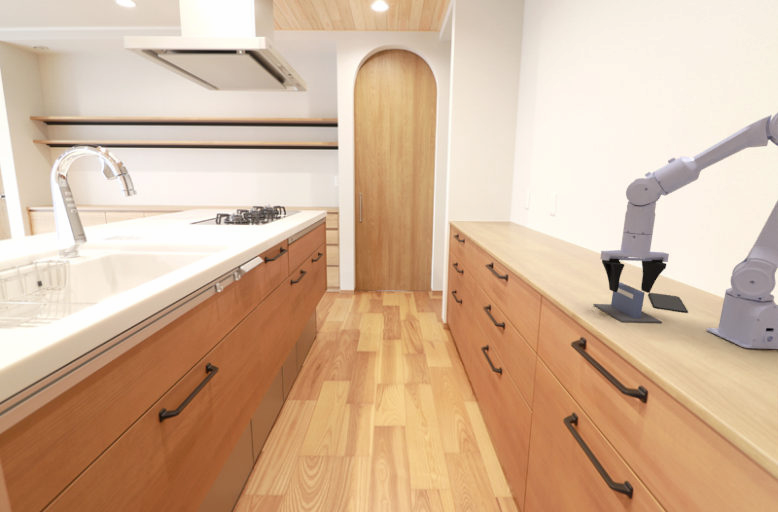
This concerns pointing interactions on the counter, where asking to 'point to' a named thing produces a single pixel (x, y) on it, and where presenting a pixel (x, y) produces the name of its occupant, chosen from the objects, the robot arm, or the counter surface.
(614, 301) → the block
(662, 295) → the smartphone
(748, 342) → the robot arm
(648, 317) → the mat
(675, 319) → the counter surface
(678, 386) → the counter surface
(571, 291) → the counter surface
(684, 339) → the counter surface
